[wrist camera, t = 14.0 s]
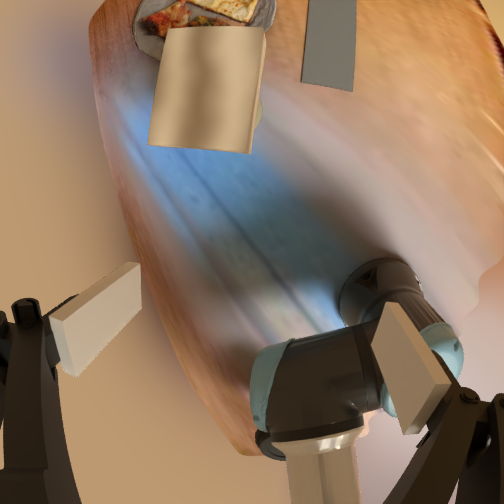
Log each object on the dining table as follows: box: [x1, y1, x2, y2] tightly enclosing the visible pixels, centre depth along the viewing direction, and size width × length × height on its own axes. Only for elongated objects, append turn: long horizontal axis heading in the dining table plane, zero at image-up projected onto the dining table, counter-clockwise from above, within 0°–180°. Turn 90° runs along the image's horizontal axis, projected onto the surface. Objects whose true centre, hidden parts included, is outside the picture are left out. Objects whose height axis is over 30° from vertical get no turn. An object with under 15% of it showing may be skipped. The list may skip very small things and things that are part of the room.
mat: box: [302, 0, 356, 92], centre depth 34 cm, size 8×24×1 cm, turn 173°
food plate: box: [132, 0, 277, 61], centre depth 34 cm, size 25×23×4 cm
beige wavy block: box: [147, 26, 266, 154], centre depth 27 cm, size 10×14×4 cm
